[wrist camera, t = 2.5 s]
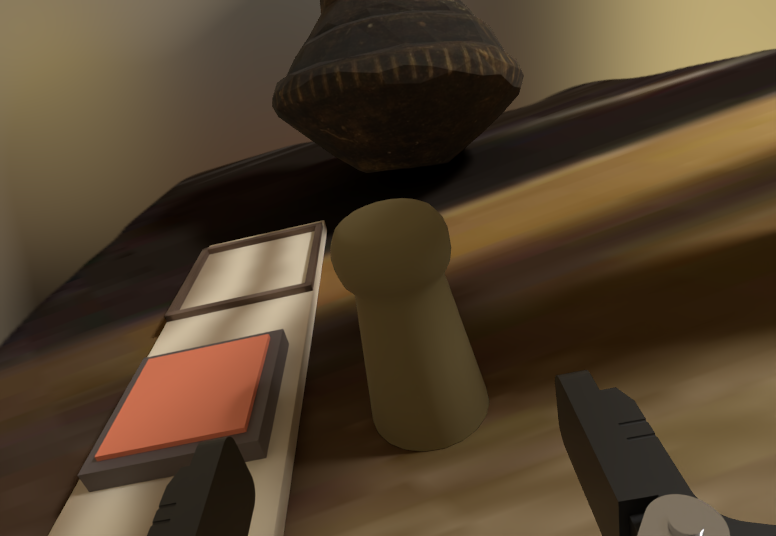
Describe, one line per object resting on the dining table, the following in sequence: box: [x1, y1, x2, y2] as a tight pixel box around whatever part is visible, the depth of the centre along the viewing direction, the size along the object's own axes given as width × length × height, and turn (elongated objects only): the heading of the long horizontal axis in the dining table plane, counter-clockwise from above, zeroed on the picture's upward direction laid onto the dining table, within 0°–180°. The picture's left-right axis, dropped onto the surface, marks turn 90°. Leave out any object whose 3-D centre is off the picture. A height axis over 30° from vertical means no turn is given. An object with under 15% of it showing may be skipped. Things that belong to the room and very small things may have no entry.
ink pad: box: [77, 329, 289, 492], centre depth 30 cm, size 9×9×2 cm
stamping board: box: [48, 220, 327, 536], centre depth 37 cm, size 11×32×2 cm, turn 2°
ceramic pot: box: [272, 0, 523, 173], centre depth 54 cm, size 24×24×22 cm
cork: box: [330, 198, 489, 452], centre depth 26 cm, size 6×6×11 cm
